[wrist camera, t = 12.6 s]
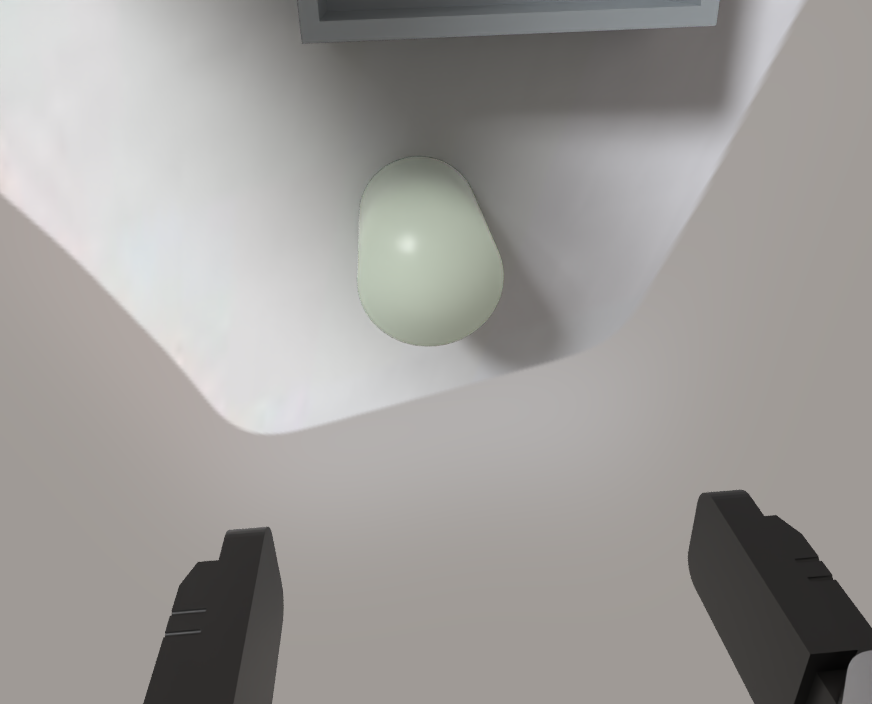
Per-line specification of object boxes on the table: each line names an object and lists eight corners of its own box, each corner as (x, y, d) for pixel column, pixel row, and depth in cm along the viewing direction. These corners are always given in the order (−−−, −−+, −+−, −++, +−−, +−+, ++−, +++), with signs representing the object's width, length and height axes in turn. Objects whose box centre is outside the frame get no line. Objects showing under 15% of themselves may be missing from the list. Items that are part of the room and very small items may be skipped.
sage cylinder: (365, 274, 31) (365, 352, 25) (352, 161, 29) (348, 217, 23) (478, 264, 32) (504, 339, 26) (474, 151, 29) (502, 204, 23)
